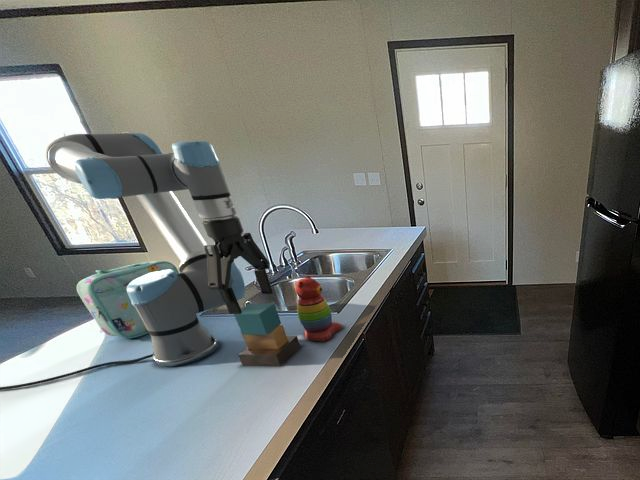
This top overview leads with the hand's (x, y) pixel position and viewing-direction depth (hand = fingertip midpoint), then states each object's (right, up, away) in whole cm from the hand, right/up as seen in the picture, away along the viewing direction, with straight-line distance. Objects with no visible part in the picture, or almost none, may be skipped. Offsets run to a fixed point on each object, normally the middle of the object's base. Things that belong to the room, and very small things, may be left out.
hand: (252, 302), depth 99 cm
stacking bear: (+10, -7, +20) cm, 23 cm away
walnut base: (+1, -14, +8) cm, 16 cm away
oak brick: (0, -11, +7) cm, 13 cm away
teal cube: (0, -6, +4) cm, 8 cm away
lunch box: (-51, -4, +30) cm, 60 cm away
